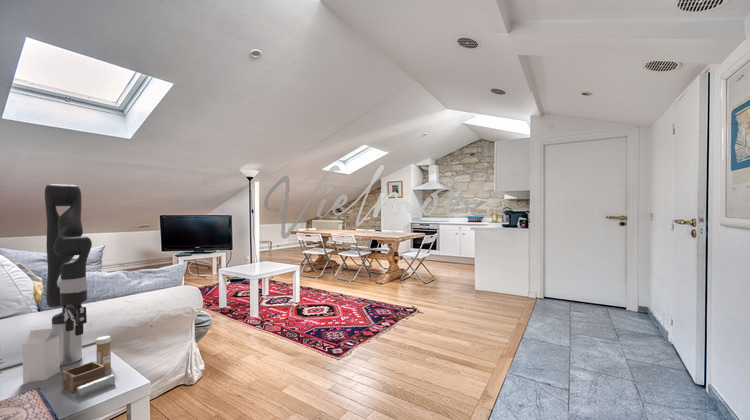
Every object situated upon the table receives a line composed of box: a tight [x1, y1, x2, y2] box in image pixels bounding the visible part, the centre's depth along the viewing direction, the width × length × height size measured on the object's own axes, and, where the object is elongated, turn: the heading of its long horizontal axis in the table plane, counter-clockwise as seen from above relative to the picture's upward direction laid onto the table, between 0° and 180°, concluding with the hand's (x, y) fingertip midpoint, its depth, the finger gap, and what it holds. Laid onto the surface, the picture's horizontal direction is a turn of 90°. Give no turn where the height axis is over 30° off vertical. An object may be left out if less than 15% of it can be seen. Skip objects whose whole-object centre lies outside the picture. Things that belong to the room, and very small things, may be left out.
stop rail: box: [76, 374, 116, 400], centre depth 114 cm, size 2×10×4 cm, turn 151°
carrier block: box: [62, 360, 106, 394], centre depth 119 cm, size 9×9×6 cm
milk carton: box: [22, 328, 61, 385], centre depth 125 cm, size 7×7×19 cm
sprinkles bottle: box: [95, 335, 112, 371], centre depth 130 cm, size 5×5×14 cm
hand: (74, 332), depth 123 cm, fingers open, 8 cm apart
